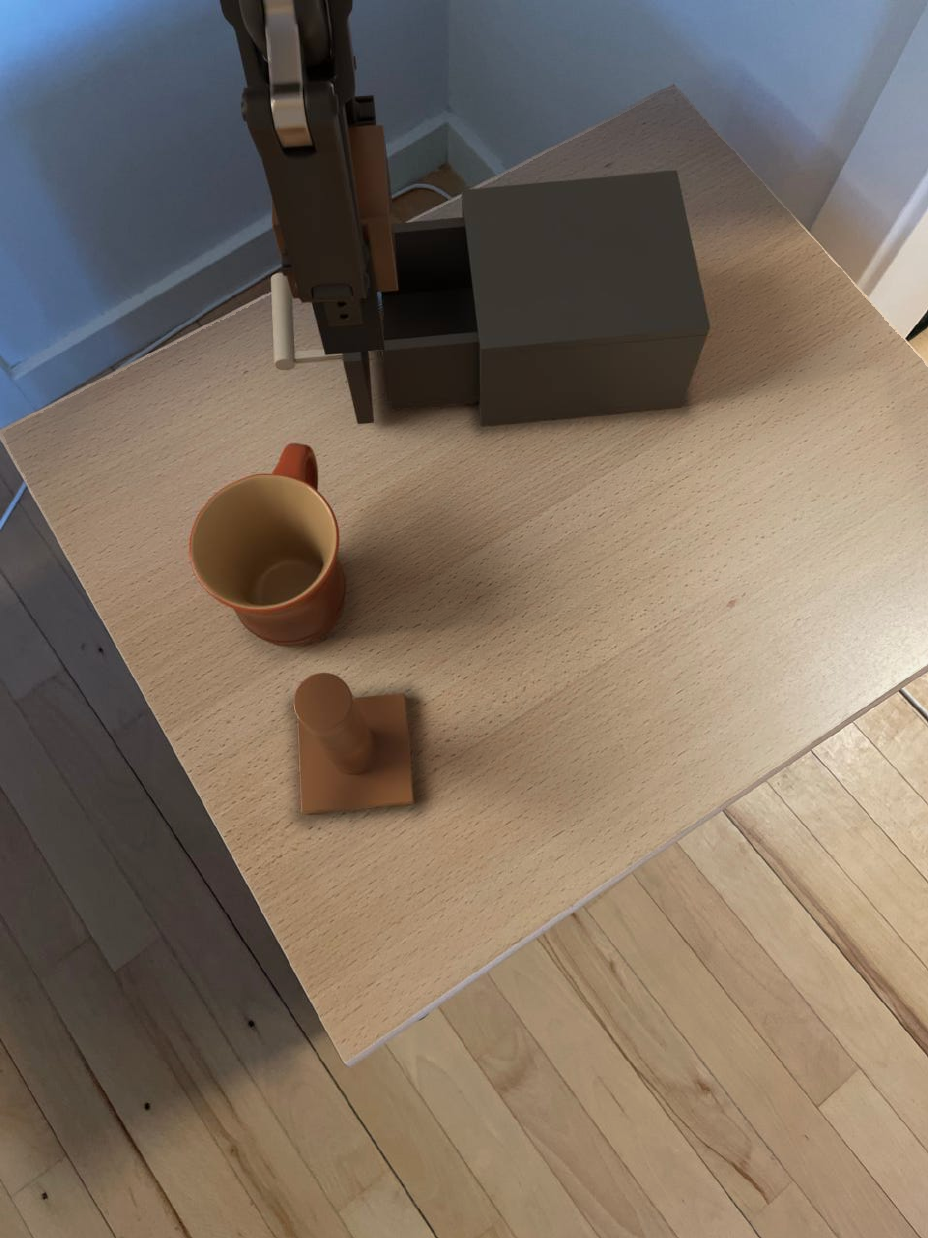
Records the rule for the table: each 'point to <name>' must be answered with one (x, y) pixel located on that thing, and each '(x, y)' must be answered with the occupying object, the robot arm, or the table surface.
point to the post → (351, 747)
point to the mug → (273, 552)
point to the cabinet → (583, 297)
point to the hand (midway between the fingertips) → (352, 296)
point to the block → (367, 205)
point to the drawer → (408, 325)
